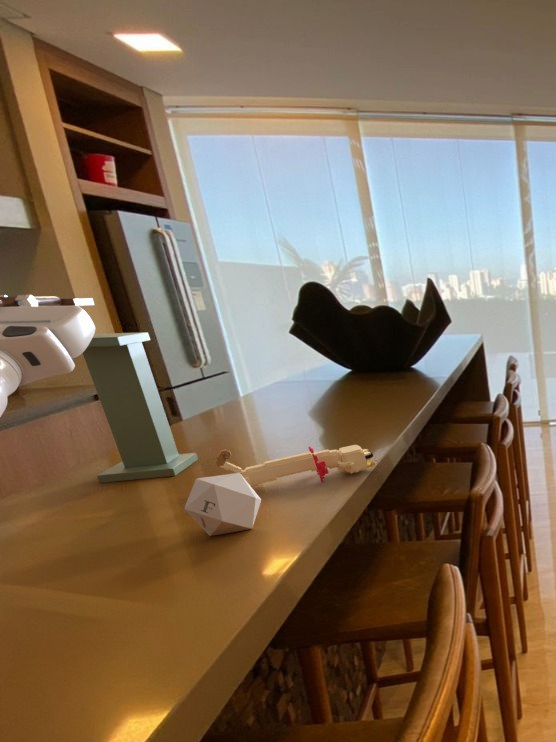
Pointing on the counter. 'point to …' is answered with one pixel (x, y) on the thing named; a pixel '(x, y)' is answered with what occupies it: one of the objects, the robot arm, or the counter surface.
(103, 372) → the spoon stand
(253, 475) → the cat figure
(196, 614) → the counter surface
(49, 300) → the spoon
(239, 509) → the die
